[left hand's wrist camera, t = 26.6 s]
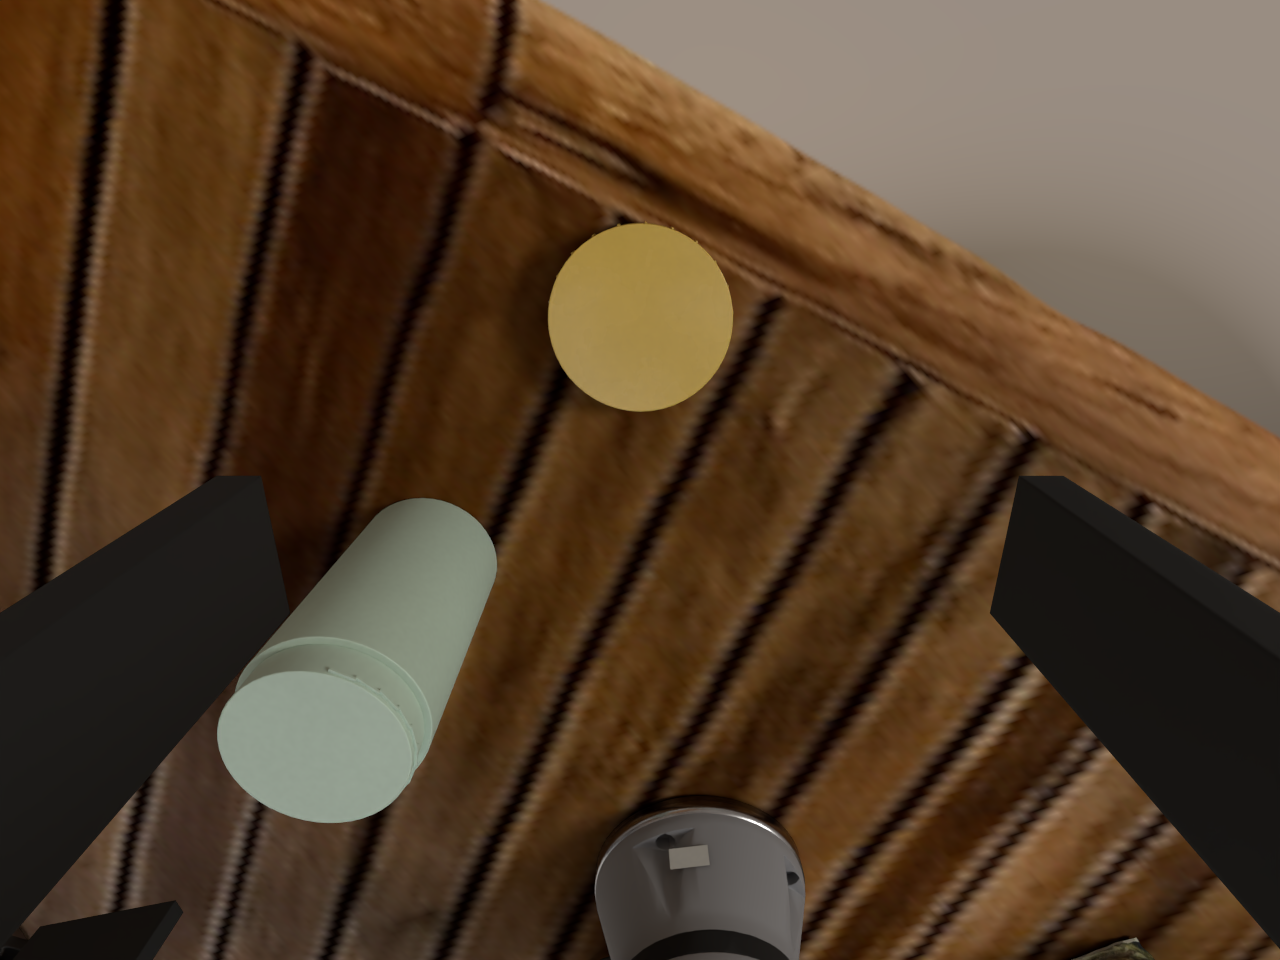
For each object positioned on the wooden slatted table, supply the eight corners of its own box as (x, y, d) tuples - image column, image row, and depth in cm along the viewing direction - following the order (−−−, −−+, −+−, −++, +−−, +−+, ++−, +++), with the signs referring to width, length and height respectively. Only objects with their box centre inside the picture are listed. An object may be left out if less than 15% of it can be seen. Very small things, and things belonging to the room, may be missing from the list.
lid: (675, 184, 35) (677, 183, 33) (759, 350, 38) (765, 358, 36) (517, 281, 37) (510, 284, 35) (609, 432, 40) (607, 443, 38)
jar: (471, 635, 45) (386, 852, 30) (345, 589, 43) (189, 792, 28) (516, 528, 42) (447, 708, 27) (383, 476, 41) (232, 634, 26)
